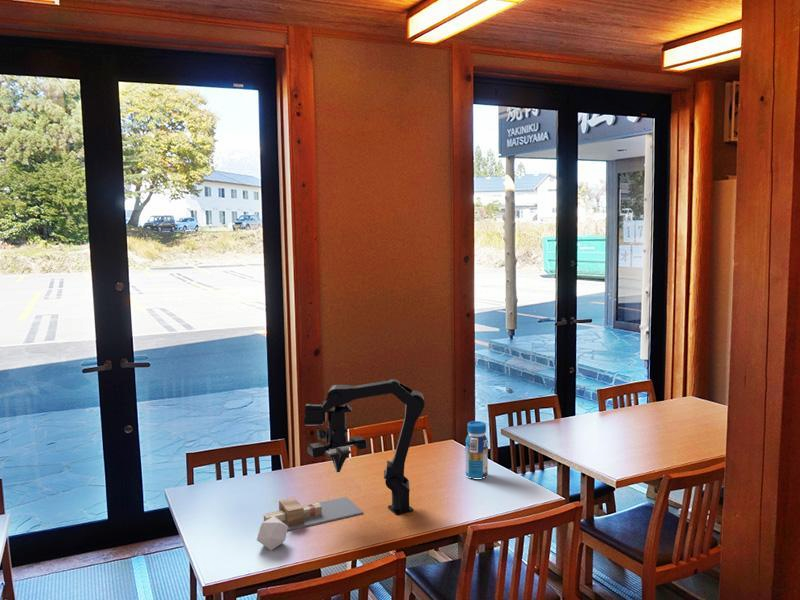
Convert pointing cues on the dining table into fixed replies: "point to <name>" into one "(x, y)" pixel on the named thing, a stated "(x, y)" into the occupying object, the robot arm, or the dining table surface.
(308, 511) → the pale wooden bar
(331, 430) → the robot arm
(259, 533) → the die
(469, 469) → the beverage bottle
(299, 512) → the tan block
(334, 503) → the felt mat
